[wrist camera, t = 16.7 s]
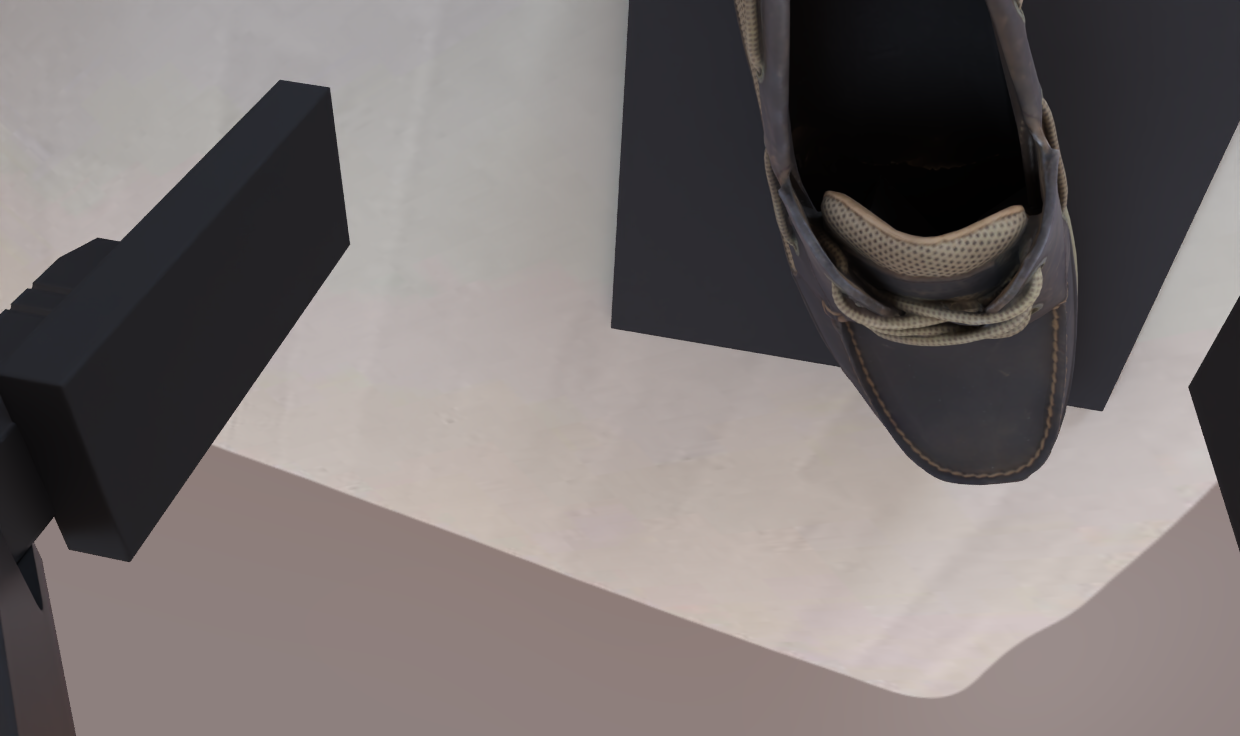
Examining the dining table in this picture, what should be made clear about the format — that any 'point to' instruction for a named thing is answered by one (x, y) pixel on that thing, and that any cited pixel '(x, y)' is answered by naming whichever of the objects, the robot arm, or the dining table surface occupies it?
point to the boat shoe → (924, 218)
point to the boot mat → (1087, 136)
